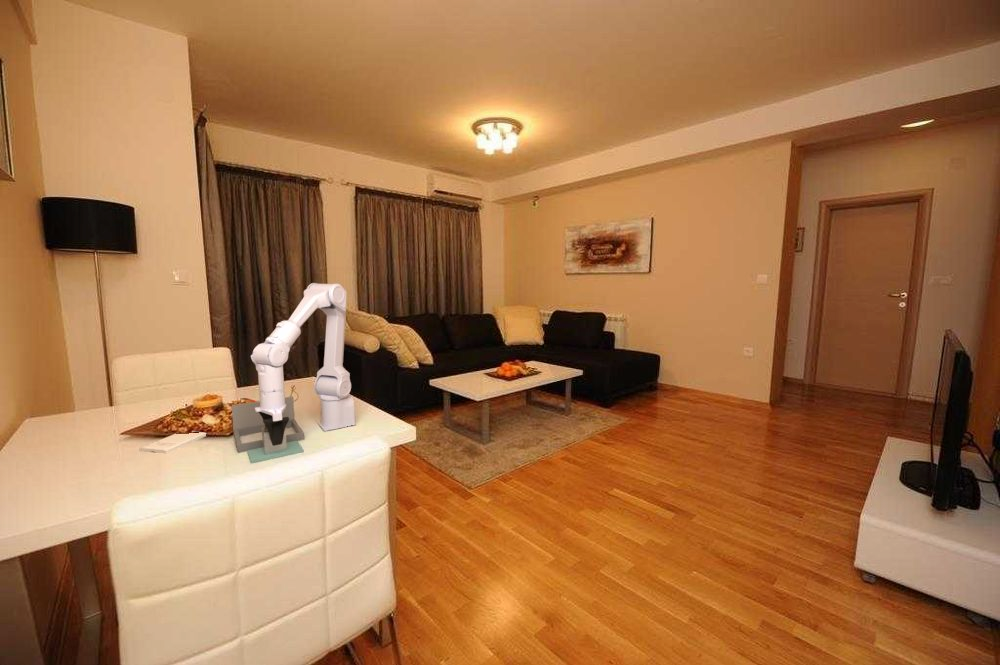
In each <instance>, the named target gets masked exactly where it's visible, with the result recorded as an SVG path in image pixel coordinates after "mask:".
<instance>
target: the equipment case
mask: <svg viewBox="0 0 1000 665" xmlns="http://www.w3.org/2000/svg"><path fill="white" fill-rule="evenodd" d="M256 401H257V400H256ZM294 401H295V400H294V396H293V395H292V396H291V397H290V396H285V404H286V408H285V410H284V411H283V413H282V418H283V417H289V421H288V423H287V425H286V427H285V429H287V428H292V429H293V431H294V432H295V433H290V434H286V443H287V442H292V441H298V442H299V441H305V432H304V430H303V429H302V427H301V426H300V425H299V423H298V422H297V420H296V419H295V402H294ZM256 407H260V400H258V401H257V402H250V403H248V402H244V403H238V404H232V405H231V415H232V429H233V437H234V438H233V439H234V441H235V446H236V449H237V452H238V454H239V453H245V452H247V451H248V450H253V449H258V448H263V440H262V439H259V440H253V441H249V442H242V439H241V437H245V436H248V435H249V436H250V435H255V434H259V433H261V434H262V428H266V427H265V424H264V422H263V418H262V416H261V415H260V414H259V412H256V411H255V408H256Z"/></svg>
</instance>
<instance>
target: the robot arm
mask: <svg viewBox="0 0 1000 665" xmlns="http://www.w3.org/2000/svg"><path fill="white" fill-rule="evenodd" d="M347 294H348V292H347V290H346V289H345V288H344V287H343V285H342V284H340V283H317V282H312V283H310V284H309V285H308V286H307V287H306V289H304V290H303V298H302V299H301V300H300V302H299V303H298V305H297V306H296V308H295V310H294V311H293V312H292V314H291V315H290V317H289V318H288V320H282V321H280V322H277V324H276V325H275V326H276V327H275V329H274V330H273V331H272V332H271V334H269V336H267V337H266V338H265V341H264V342H262V343H258V344H257V345H256V346H255V347H254V349H253V351H252V354H251V355H250V359H251V361H252V363H253V364H254V365H255V369H256V371H257V378H258V394H259V401H260V407H256V408H255V411H256V412H259V414H260V415H261V416H262V418H263V422H264V424H265V427H267V428H268V431H269V434H270V439H271V442H272V445H273V446H275V445H280V444H282V442H283V436H284V431H285V429H286V428H285V427H286V425H287V423H288V421H289V417H283V418H282V413H283V411H284V410H285V408H286V404H285V397H286V396H285V395H286V394H285V393H286V392H285V379H284V364H285V363H287V361H288V359H289V352H290V351H291V350H290V349H291V348H292V346H293V344H294V343H295V342H296V340H297V339H298V338H299V336H300V335H301V333H302V332H301V331H302V330H301V327H302V326H303V325H304V323H306V322H307V320H308V319H309V318H310V317H311V316H312V314H314V312H315V311H316V310H317V309H320V310H321V311H323V313H324V314H325V315H326V325H325V339H324V340H325V342H324V357H323V366H322V367H321V368H320V369H319V370H317V372H316V378H315V380H314V384H313V390H314V393H315V394H316V395H317V396H318V398H319V399H320V414H321V415H320V416H321V421H319V422H317V424H318V426H319V427H320V428H321V429H322V430H323V432H326V431H332V430H333V431H334V430H336V429H337V430H338V429H342V428H347V426H348V427H352V426H351V425H353V426H356V425H357V423H356V419H355V418H356V415H355V413H356V412H355V400H354V397H353V396H352V395H350V392H351V389H352V382H351V379H350V378H351V377H350V376H351V375H350V374H351V373H350V372H349V371H348V370H346V368H345V367H344V365H343V363H344V350H345V335H346V334H345V333H346V322H347V321H346V319H347V318H346V317H347V298H348V297H347ZM355 424H356V425H355Z"/></svg>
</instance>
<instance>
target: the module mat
mask: <svg viewBox="0 0 1000 665" xmlns="http://www.w3.org/2000/svg"><path fill="white" fill-rule="evenodd" d="M246 452H247V455H248V458H249V462H250V464H254V463H260V462H264V461H268V460H273V459H278V458H283V457H286V456H291V455H296V454H300V453H304V449H303V447H302V445H301V444H300V442H299V441H292V442H287V451H284V452H279V453H274V454H270V455H265V454H264V451H263V448H258V449H253V450H248V451H246Z"/></svg>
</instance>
